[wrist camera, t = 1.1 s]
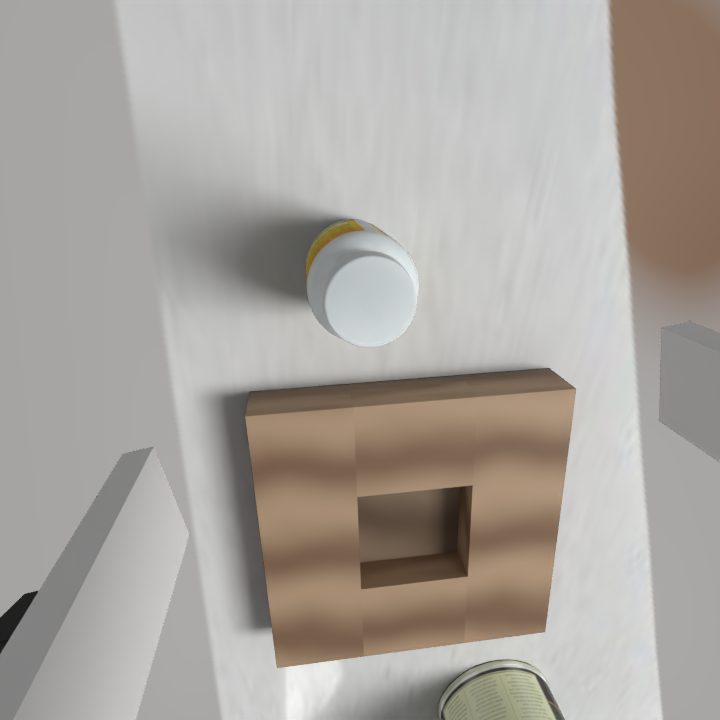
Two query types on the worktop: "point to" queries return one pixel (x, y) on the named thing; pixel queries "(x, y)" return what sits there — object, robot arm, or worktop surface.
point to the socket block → (408, 510)
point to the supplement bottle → (361, 283)
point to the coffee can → (499, 694)
